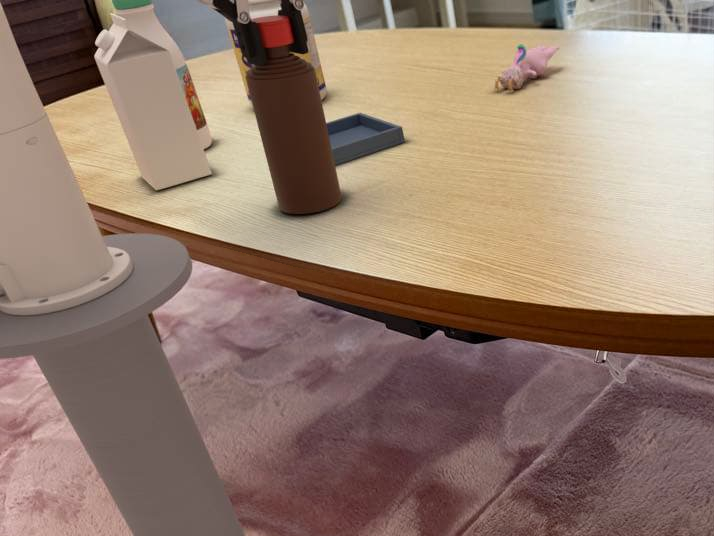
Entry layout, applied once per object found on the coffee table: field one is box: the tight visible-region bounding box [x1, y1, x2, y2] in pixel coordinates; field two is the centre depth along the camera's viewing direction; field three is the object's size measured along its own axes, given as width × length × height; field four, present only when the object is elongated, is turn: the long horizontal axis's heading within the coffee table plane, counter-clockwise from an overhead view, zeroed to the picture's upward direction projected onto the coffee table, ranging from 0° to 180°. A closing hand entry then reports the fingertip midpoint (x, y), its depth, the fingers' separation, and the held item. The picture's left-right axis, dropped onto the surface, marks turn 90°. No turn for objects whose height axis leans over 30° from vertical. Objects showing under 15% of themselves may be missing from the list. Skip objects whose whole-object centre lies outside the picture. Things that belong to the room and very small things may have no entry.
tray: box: [326, 112, 406, 166], centre depth 106 cm, size 13×11×2 cm
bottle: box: [245, 45, 343, 215], centre depth 86 cm, size 7×7×18 cm
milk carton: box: [93, 12, 213, 191], centre depth 98 cm, size 7×7×19 cm
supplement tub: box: [224, 0, 327, 108], centre depth 123 cm, size 12×12×17 cm
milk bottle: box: [111, 0, 213, 150], centre depth 107 cm, size 8×8×20 cm
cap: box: [251, 15, 294, 48], centre depth 81 cm, size 4×4×2 cm
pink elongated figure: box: [494, 43, 560, 93], centre depth 123 cm, size 6×6×15 cm
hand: (278, 56), depth 82 cm, fingers closed on cap, 4 cm apart
